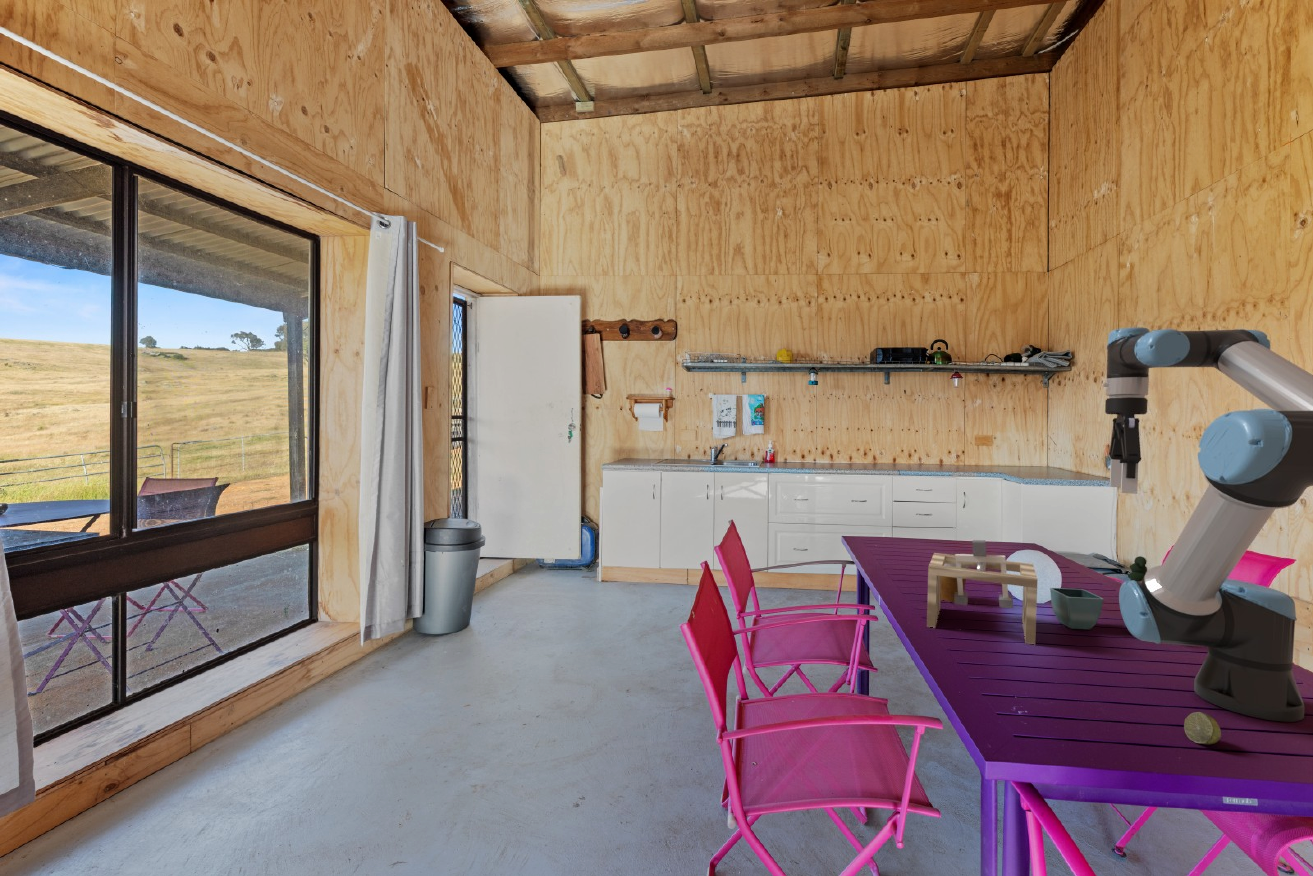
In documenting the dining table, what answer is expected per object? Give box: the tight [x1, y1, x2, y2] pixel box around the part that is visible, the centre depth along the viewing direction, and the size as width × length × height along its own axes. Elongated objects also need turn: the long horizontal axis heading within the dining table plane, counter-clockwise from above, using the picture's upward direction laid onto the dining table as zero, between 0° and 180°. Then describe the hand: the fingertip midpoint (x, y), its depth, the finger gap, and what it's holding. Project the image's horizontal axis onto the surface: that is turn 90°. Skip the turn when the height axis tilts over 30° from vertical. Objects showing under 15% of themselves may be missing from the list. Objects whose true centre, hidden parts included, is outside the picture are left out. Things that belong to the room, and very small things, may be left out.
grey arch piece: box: [953, 539, 1014, 609], centre depth 156 cm, size 5×13×16 cm, turn 61°
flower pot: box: [1049, 587, 1105, 630], centre depth 156 cm, size 9×9×9 cm
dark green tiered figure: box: [1127, 555, 1148, 582], centre depth 154 cm, size 9×19×25 cm
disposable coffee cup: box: [941, 563, 970, 603], centre depth 178 cm, size 10×10×12 cm
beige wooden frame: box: [926, 552, 1039, 646], centre depth 157 cm, size 18×24×17 cm
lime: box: [1183, 711, 1222, 745], centre depth 101 cm, size 4×5×5 cm
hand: (1122, 490), depth 136 cm, fingers open, 13 cm apart
